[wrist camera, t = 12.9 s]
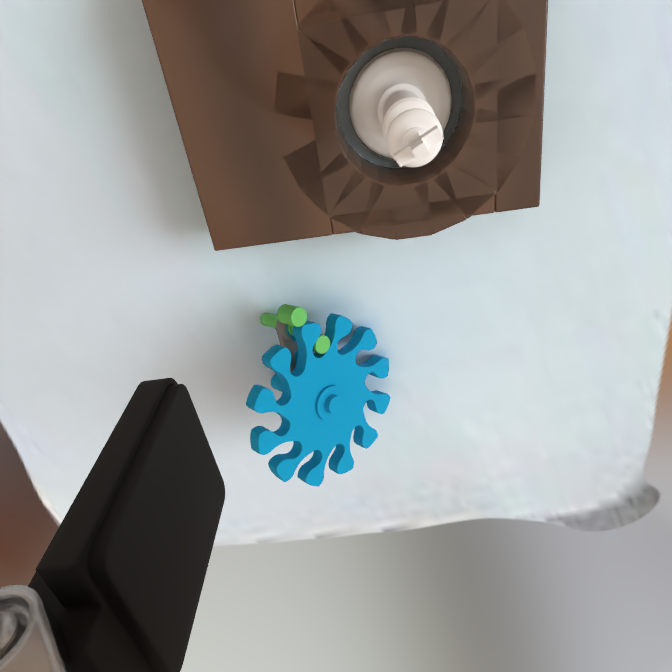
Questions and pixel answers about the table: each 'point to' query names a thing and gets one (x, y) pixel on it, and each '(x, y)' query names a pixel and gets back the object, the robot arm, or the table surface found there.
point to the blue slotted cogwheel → (316, 394)
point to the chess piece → (401, 106)
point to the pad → (322, 117)
